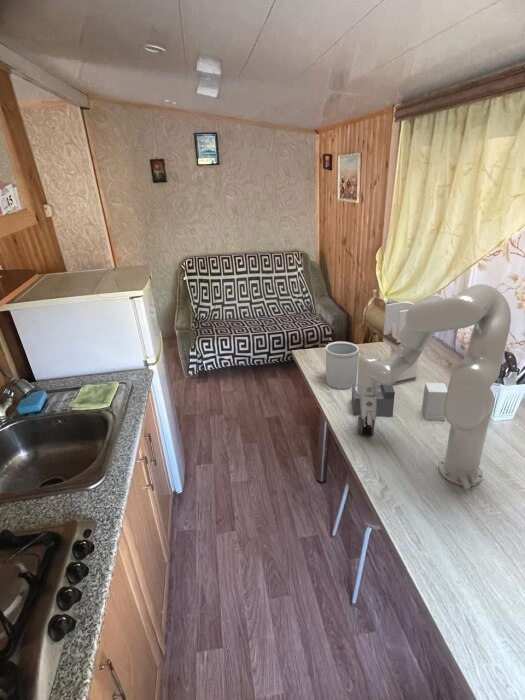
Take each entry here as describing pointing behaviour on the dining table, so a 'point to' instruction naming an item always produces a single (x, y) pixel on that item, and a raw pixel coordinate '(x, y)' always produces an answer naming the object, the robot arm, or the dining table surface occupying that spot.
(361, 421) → the lens
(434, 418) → the supplement box
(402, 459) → the dining table surface
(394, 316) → the slotted white tower
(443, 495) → the dining table surface
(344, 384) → the utensil holder
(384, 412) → the camera body
